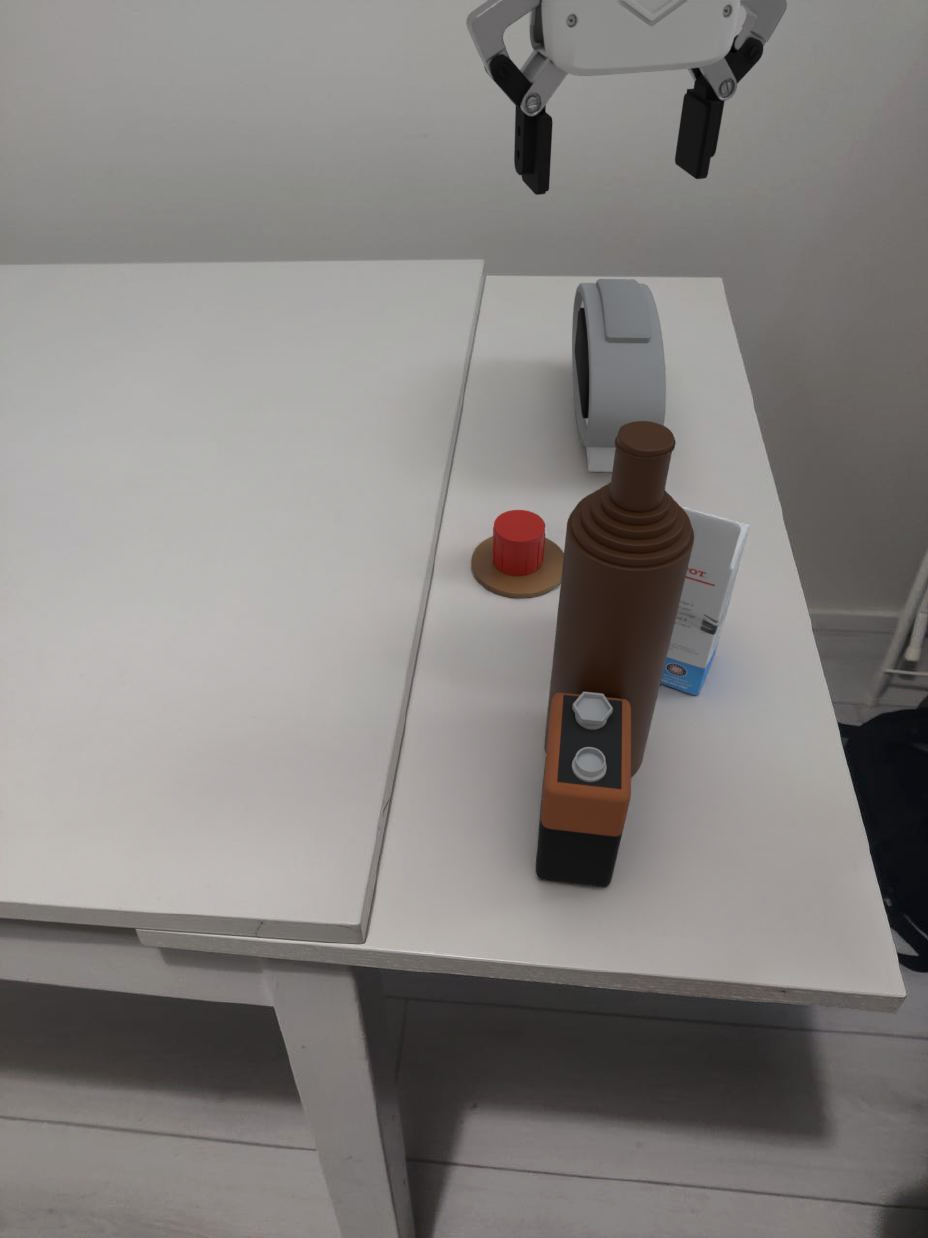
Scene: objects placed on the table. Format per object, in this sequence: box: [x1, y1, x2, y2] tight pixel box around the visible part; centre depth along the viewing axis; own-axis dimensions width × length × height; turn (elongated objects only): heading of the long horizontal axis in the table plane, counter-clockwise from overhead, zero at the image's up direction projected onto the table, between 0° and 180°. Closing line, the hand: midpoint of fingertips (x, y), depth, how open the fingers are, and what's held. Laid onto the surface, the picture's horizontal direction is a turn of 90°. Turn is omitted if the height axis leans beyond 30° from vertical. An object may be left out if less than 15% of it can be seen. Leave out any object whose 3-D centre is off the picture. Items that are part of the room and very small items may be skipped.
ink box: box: [660, 505, 750, 696], centre depth 58 cm, size 8×5×15 cm, turn 63°
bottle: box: [543, 421, 694, 778], centre depth 49 cm, size 6×6×24 cm
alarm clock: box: [571, 278, 667, 473], centre depth 81 cm, size 23×6×13 cm, turn 178°
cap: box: [492, 509, 546, 576], centre depth 68 cm, size 4×4×4 cm
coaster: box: [470, 535, 564, 599], centre depth 70 cm, size 8×8×1 cm
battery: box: [535, 692, 632, 888], centre depth 49 cm, size 4×7×10 cm, turn 172°
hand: (613, 179), depth 51 cm, fingers open, 9 cm apart
